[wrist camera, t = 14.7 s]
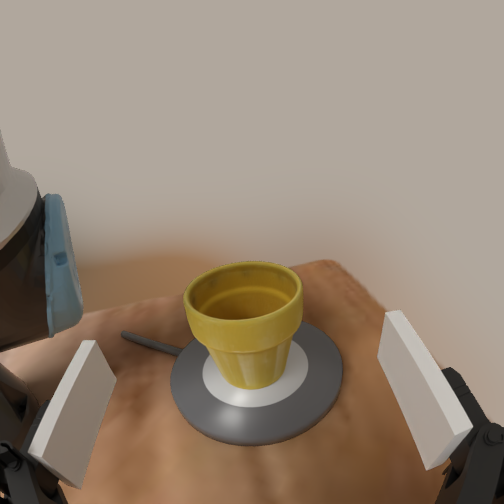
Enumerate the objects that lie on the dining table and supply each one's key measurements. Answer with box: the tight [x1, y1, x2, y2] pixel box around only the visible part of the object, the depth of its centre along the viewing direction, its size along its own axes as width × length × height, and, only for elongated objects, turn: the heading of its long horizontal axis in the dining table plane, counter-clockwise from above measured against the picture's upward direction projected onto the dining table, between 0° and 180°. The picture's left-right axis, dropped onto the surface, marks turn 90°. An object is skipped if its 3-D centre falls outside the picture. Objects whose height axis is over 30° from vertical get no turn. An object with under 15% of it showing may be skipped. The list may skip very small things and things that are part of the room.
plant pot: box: [183, 261, 303, 390], centre depth 28 cm, size 10×10×10 cm
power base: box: [121, 321, 343, 446], centre depth 33 cm, size 30×18×2 cm, turn 67°
